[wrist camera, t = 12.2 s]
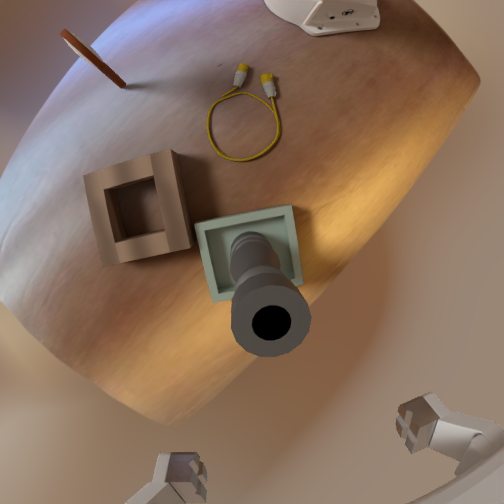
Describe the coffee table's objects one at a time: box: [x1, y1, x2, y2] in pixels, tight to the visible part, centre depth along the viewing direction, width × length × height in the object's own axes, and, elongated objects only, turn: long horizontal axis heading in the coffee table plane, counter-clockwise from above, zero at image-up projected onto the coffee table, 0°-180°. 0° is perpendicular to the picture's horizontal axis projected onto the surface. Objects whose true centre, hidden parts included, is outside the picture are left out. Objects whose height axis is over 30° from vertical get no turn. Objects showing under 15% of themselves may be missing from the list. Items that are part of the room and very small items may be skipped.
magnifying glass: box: [60, 29, 126, 89], centre depth 29 cm, size 9×2×20 cm, turn 43°
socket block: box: [84, 149, 195, 267], centre depth 40 cm, size 14×14×5 cm
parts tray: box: [194, 204, 304, 303], centre depth 44 cm, size 14×12×4 cm
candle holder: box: [230, 231, 311, 357], centre depth 32 cm, size 6×6×25 cm
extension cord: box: [207, 63, 281, 162], centre depth 41 cm, size 12×16×2 cm
